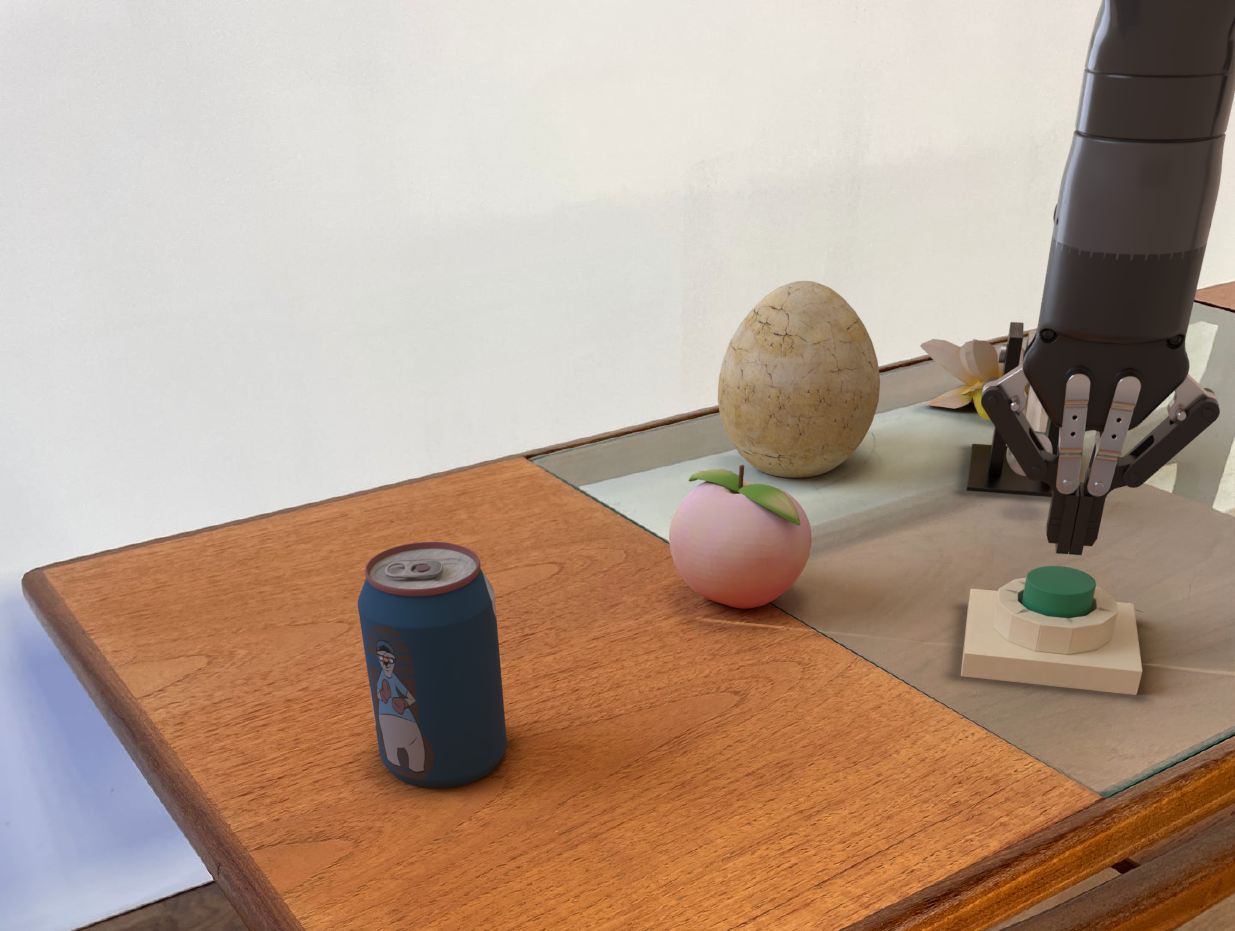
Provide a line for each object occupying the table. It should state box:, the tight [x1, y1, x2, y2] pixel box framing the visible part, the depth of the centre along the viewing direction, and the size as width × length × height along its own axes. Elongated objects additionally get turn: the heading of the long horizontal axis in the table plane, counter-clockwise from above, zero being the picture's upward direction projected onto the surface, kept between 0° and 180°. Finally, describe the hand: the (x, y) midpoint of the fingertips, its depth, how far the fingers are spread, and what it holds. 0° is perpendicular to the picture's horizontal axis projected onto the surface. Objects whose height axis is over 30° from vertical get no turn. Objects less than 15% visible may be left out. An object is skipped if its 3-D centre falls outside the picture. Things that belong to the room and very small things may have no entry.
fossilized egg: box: [717, 280, 881, 479], centre depth 101 cm, size 13×13×15 cm
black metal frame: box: [966, 321, 1060, 498], centre depth 100 cm, size 10×8×12 cm
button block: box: [960, 577, 1143, 696], centre depth 78 cm, size 10×9×4 cm
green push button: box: [1022, 565, 1097, 618], centre depth 77 cm, size 4×4×2 cm
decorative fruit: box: [668, 464, 812, 610], centre depth 82 cm, size 9×8×10 cm
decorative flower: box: [919, 338, 1048, 433], centre depth 113 cm, size 15×11×10 cm
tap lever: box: [1006, 329, 1052, 476], centre depth 95 cm, size 13×3×3 cm, turn 165°
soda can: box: [357, 541, 508, 789], centre depth 67 cm, size 7×7×12 cm
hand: (1068, 549), depth 75 cm, fingers closed
